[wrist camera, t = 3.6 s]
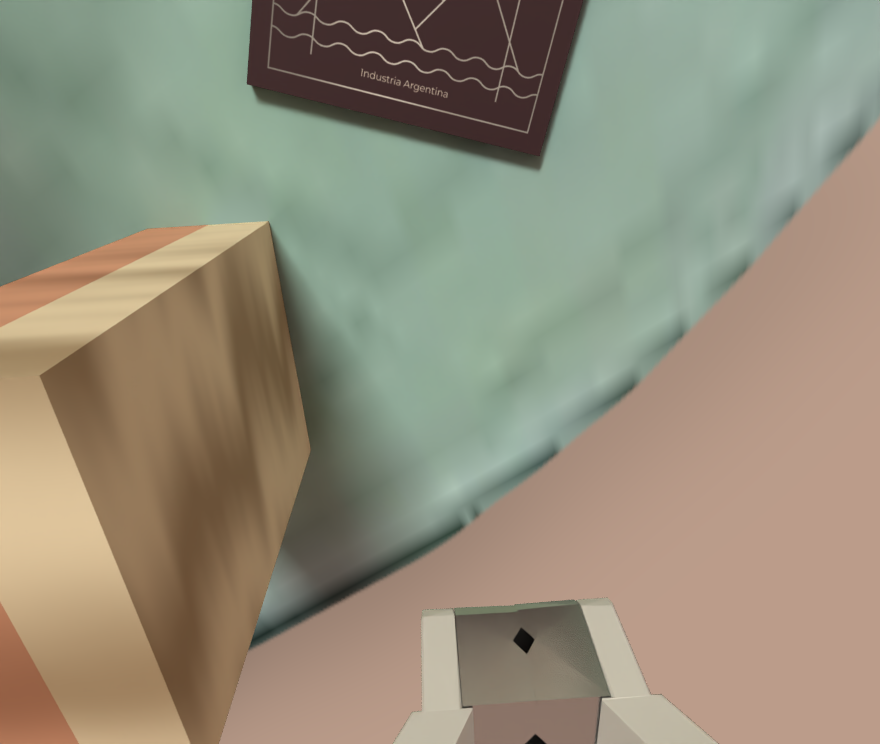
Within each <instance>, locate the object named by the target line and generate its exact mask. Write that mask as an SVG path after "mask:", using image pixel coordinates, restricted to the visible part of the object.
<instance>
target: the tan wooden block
mask: <svg viewBox="0 0 880 744" xmlns="http://www.w3.org/2000/svg"><path fill="white" fill-rule="evenodd" d="M310 451H311V448H310V442H309V437H308V432H307V426H306V421H305V415H304V410H303V404H302V399H301V394H300V388H299V383H298V377H297V372H296V366H295V361H294V356H293V350H292V345H291V339H290V334H289V328H288V323H287V318H286V312H285V307H284V301H283V296H282V290H281V285H280V280H279V274H278V269H277V263H276V258H275V253H274V247H273V242H272V236H271V231H270V225H269V221H266V222H250V223H234V224H218V225H201V226H185V227H169V228H153V229H146V230H143V231H141V232H138V233H135V234H133V235H130V236H128V237H125V238H123V239H120V240H118V241H115V242H113V243H110V244H107V245H105V246H102V247H100V248H97V249H95V250H92V251H90V252H87V253H85V254H82V255H80V256H77V257H74V258H72V259H69V260H67V261H64V262H62V263H59V264H57V265H54V266H52V267H49V268H46V269H44V270H41V271H39V272H36V273H34V274H31V275H29V276H26V277H24V278H21V279H19V280H16V281H13V282H11V283H8V284H6V285H3V286H1V287H0V744H219V741H220V738H221V735H222V732H223V728H224V725H225V722H226V719H227V716H228V713H229V709H230V706H231V703H232V700H233V696H234V693H235V690H236V687H237V684H238V681H239V677H240V674H241V671H242V668H243V665H244V662H245V658H246V655H247V652H248V649H249V646H250V642H251V639H252V636H253V633H254V630H255V627H256V623H257V620H258V617H259V614H260V611H261V607H262V604H263V601H264V598H265V595H266V591H267V588H268V585H269V582H270V579H271V576H272V572H273V569H274V566H275V563H276V560H277V556H278V553H279V550H280V547H281V544H282V540H283V537H284V534H285V531H286V528H287V525H288V521H289V518H290V515H291V512H292V509H293V505H294V502H295V499H296V496H297V493H298V489H299V486H300V483H301V480H302V477H303V474H304V470H305V467H306V464H307V461H308V458H309V454H310Z"/></svg>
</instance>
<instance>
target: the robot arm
mask: <svg viewBox="0 0 880 744" xmlns="http://www.w3.org/2000/svg"><path fill="white" fill-rule="evenodd" d="M454 614H455V617H454ZM421 649H422V650H421V654H422V656H421V658H422V711H417V712H412V713H411V714H410V716H409V718H408V719H407V721H406V723H405V724H404V726H403V728H402V729H401V731H400V733H399V734H398V736H397V738H396V739H395V741H394V742H393V744H718V743H717V742H716V741H715V740H714V739H713V738H712V737H711V736H709V735H708V734H707V733H706V732H705V731H704V730H702V729H701V728H700V727H699V726H698V725H696V724H695V723H694V722H693V721H692V720H691V719H690V718H688V717H687V716H686V715H685V714H684V713H683V712H681V711H680V710H679V709H678V708H677V707H676V706H674V705H673V704H672V703H671V702H670V701H669V700H668V699H666V698H665V697H664V696H663V695H662V694H658V695H657V694H655V695H651V693H650V690H649V688H648V686H647V683H646V681H645V678H644V676H643V674H642V671H641V669H640V667H639V664H638V662H637V660H636V657H635V655H634V653H633V650H632V648H631V646H630V643H629V641H628V638H627V636H626V634H625V631H624V629H623V626H622V624H621V622H620V619H619V617H618V615H617V612H616V610H615V608H614V605H613V603H612V602H611V601H610V600H609V599H608V598H596V599H583V600H576V601H575V600H564V601H551V602H539V603H527V604H515V605H514V606H490V607H466V608H454V610H453V608H451V609H430V610H423V611H422V617H421Z"/></svg>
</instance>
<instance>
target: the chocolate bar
mask: <svg viewBox="0 0 880 744" xmlns="http://www.w3.org/2000/svg"><path fill="white" fill-rule="evenodd" d="M582 3H583V0H252V14H251V29H250V44H249V59H248V74H247V84H248V85H252V86H256V87H261V88H265V89H269V90H273V91H277V92H281V93H285V94H289V95H293V96H297V97H301V98H305V99H309V100H313V101H317V102H321V103H325V104H329V105H333V106H338V107H342V108H346V109H350V110H354V111H358V112H362V113H366V114H370V115H374V116H378V117H382V118H386V119H390V120H394V121H398V122H402V123H406V124H410V125H415V126H419V127H423V128H427V129H431V130H435V131H439V132H443V133H447V134H451V135H455V136H459V137H463V138H467V139H471V140H475V141H479V142H483V143H487V144H491V145H496V146H500V147H504V148H508V149H512V150H516V151H520V152H524V153H528V154H532V155H536V156H540V153H541V149H542V145H543V142H544V138H545V135H546V131H547V128H548V124H549V121H550V117H551V113H552V110H553V106H554V103H555V99H556V96H557V92H558V88H559V85H560V81H561V78H562V74H563V71H564V67H565V64H566V60H567V56H568V53H569V49H570V46H571V42H572V39H573V35H574V32H575V28H576V24H577V21H578V17H579V14H580V10H581V7H582Z"/></svg>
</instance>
